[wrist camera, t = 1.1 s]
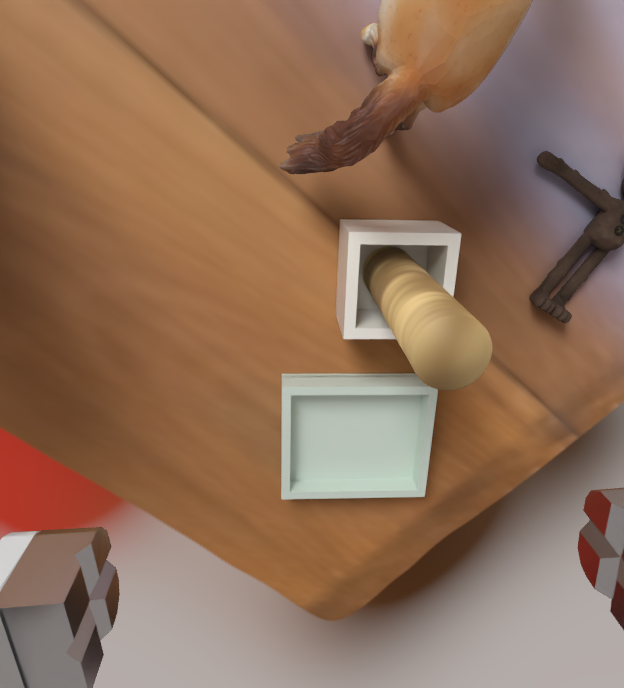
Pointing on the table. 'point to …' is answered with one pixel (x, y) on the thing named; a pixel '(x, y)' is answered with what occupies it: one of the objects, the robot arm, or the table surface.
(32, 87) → the table surface
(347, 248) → the white square box
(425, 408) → the tray
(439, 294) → the dowel
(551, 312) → the bear figurine
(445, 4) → the horse figurine
